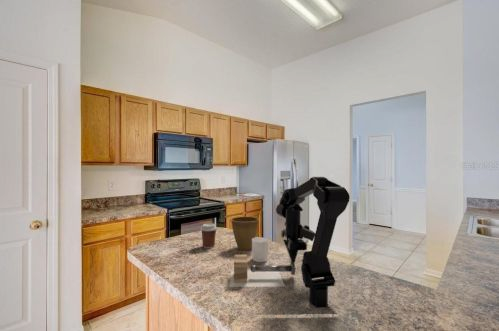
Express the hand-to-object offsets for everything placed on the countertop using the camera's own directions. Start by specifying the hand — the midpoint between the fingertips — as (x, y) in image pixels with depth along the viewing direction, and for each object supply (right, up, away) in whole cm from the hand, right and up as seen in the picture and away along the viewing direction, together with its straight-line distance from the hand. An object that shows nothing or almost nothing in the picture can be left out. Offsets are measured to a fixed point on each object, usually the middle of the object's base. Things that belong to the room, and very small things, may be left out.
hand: (292, 261), depth 92 cm
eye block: (-20, -6, -1) cm, 21 cm away
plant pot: (-20, -8, +36) cm, 42 cm away
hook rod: (-8, -5, 0) cm, 9 cm away
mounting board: (-14, -7, -1) cm, 16 cm away
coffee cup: (-40, -8, +39) cm, 56 cm away
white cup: (-12, -8, +18) cm, 23 cm away
